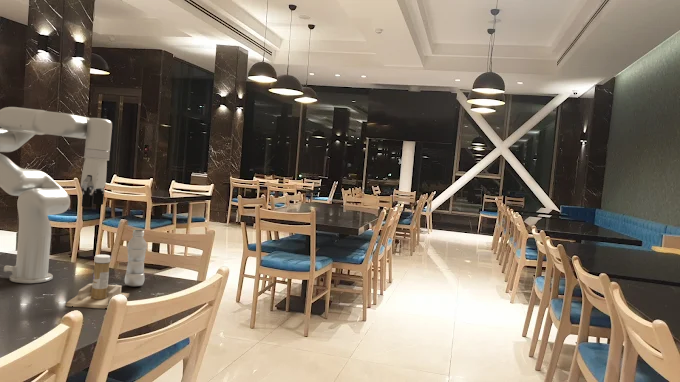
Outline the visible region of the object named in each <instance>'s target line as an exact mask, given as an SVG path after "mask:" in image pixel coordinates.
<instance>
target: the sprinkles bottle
mask: <svg viewBox="0 0 680 382" xmlns="http://www.w3.org/2000/svg"><path fill="white" fill-rule="evenodd" d="M93 259H94V260H93V262H94V266H93V273H92V274H93V276H92V283H91V284H92V295H91V298H93V299H104V298H106V297H107V287H108V285H109V275H110V262H111V255H109V254H104V253H103V254H95V256H94V258H93Z"/></svg>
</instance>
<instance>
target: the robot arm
mask: <svg viewBox="0 0 680 382" xmlns="http://www.w3.org/2000/svg"><path fill="white" fill-rule="evenodd" d="M112 130H113V122H112V121H111V120H109V119H107V118H101V117H88V116H83V115H78V114H73V113H65V112H58V111H47V110H44V109H35V108H26V107H17V106H8V107H7V106H5V107H3V108H1V109H0V188H1V190H3V191H4V192H5V193H7V194H8V195H10V196H15V197H18V199H17V202H16V203H17V204H16V205H17V206H16V207H17V214H18V237H17V250H16V263H15V265H14V266H13V265H5V266H3V272H4V273H11V275H10V276H9V281H10V282H13V283H19V284H40V283H45V282H49V281H51V280H53V277H54V276H53V274H52V273H50V272H49V266H50V265H49V264H50V263H49V262H50V254H51V252H50V251H51V239H52V225H51V222H50V219H49V216H52V215H60V214H64V213H65V212H67V210H69V208H70V206H71V198H70V195H69V194H68V192H67V191H66V190H65V189H64V187H62V186H61V185H60V184H59V183H58V182H56V180H54V179H53V178H52V177H51V176H50V175H48V173H46V172H44V171H42V170H41V169H40V170H39V169H35V168H33V169H31V168H22V167H20V166H19V165H17V164H16V163H15V162H13V161H12V160H11V159H10V158H9V157H8V156H6V155H4V154H2V153H12V152H14V151H16V150H19V149H20V148H21V147H22V146H23V145H24V144H26V143H27V142H28V141H29V140H30V139H31V138H33V137H34V136H35V135H39V136H43V135H52V136H59V137H60V136H61V137H64V138H65V137H67V138H76V139H85V145H84V146H85V147H84V156H83V159H84V162H83V167H82V171H81V180H80V187H81V189H82V192H81V193H82V198H81V207H84V208H93V206H94V205H99V206H101V205H104V200H105V189H106V188H105V187H106V184H107V173H108V172H107V170H108V168H107V167H108V161H110V156H111V155H110V153H111V143H112V134H113V133H112Z"/></svg>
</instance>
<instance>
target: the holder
mask: <svg viewBox="0 0 680 382" xmlns="http://www.w3.org/2000/svg"><path fill="white" fill-rule="evenodd" d="M92 284H93V283H88V284H86V285H84V286H83V287H82V288H80V289H79V290H78V292H77V293H78V294H77V295H76V296H75V297H73V298H71V299H69V300H68V301H67V302H66V303H65V307H70V308H71V307H72V306H73V308H88V309H89V308H92V309H105V308H107V305H108V302H109V300H110V298H111V297H113V296H114V295H117V294H123V295H125V296H126V297H127V299H128V298H129V297H130V293H129V292H128V293H127V292H122V287H123V286H122V285H119V284H108V287H107V297H106V298H104V299H93V298H91V295H92Z"/></svg>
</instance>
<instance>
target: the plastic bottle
mask: <svg viewBox="0 0 680 382" xmlns="http://www.w3.org/2000/svg"><path fill="white" fill-rule="evenodd" d="M131 235H132V237H131V238H130V239H129V241H128V243H127V266H126V272H125V274H124V284H125V285H126V286H128V287H134V288H135V287H141V286H143V285H144V282H145V278H146V277H145V259H146V252H147V249H148V243H147V242H146V239H145V238H144V236H145V230H143V229H133V231H132V234H131Z"/></svg>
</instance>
